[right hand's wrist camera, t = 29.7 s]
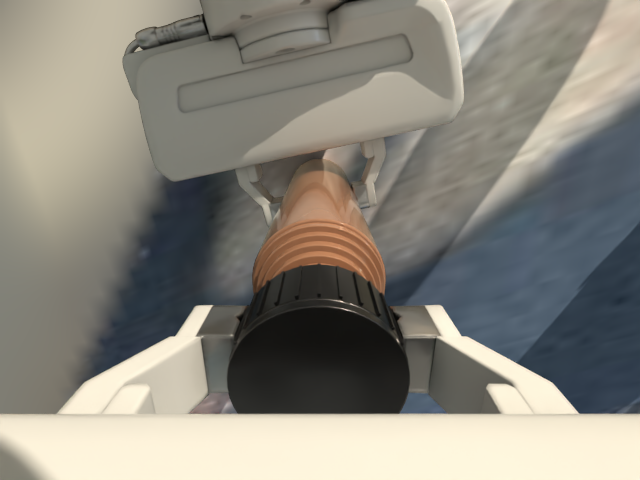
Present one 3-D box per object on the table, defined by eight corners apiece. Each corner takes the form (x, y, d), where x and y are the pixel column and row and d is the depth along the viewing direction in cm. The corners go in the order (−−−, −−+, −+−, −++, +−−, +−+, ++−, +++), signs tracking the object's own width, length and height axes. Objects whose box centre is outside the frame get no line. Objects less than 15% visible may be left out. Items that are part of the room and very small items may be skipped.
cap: (385, 249, 9) (405, 289, 7) (399, 378, 11) (419, 442, 9) (227, 274, 10) (200, 319, 7) (262, 396, 11) (249, 463, 9)
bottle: (339, 151, 29) (394, 249, 8) (355, 207, 30) (434, 415, 9) (282, 168, 29) (185, 306, 8) (300, 222, 31) (259, 454, 10)
